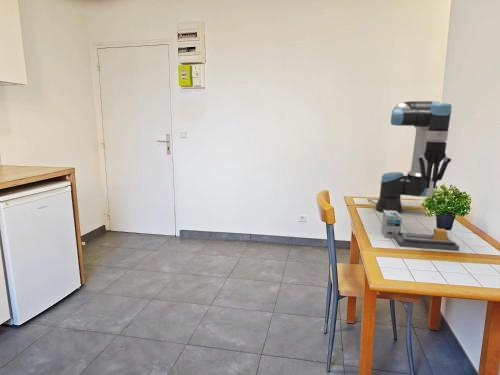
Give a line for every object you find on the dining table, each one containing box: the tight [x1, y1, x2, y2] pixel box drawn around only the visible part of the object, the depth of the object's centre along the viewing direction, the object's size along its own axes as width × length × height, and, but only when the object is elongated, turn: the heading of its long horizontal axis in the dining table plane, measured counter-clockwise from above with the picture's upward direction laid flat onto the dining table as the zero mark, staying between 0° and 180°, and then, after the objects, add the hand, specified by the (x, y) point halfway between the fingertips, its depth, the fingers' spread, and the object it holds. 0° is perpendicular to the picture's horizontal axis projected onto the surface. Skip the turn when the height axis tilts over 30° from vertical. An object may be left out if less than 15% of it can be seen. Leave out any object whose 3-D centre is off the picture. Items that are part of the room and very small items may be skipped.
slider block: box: [432, 227, 448, 241], centre depth 146 cm, size 4×4×5 cm
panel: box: [393, 232, 460, 252], centre depth 148 cm, size 10×24×3 cm, turn 80°
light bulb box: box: [381, 210, 403, 239], centre depth 159 cm, size 11×7×11 cm, turn 169°
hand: (429, 195), depth 144 cm, fingers closed
